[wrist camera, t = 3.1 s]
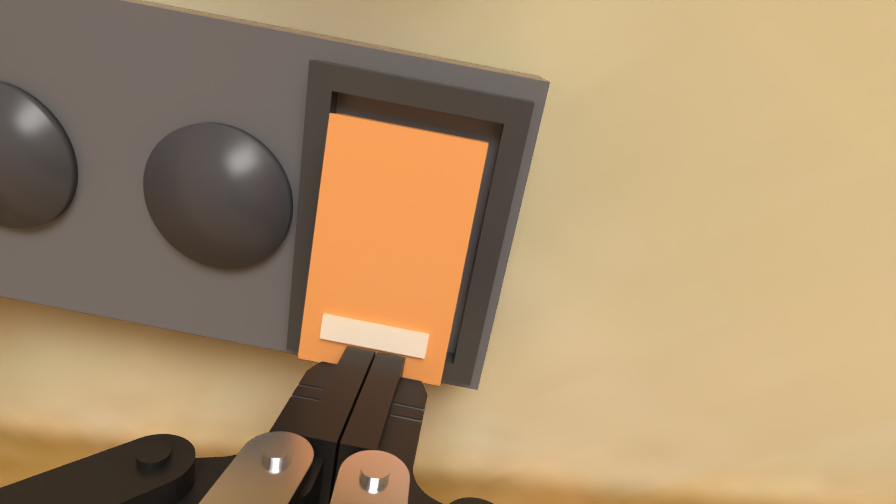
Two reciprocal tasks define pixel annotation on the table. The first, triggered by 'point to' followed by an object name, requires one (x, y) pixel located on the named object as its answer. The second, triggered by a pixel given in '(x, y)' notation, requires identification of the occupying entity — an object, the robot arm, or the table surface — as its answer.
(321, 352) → the rocker orange
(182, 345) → the table surface
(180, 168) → the rocker switch panel
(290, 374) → the table surface
